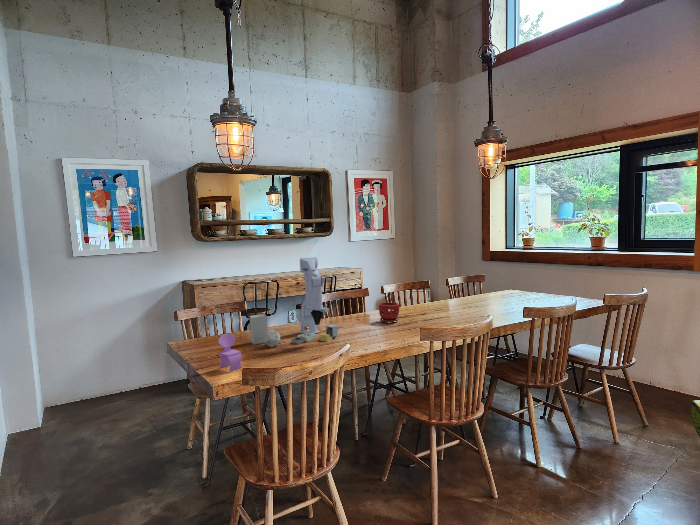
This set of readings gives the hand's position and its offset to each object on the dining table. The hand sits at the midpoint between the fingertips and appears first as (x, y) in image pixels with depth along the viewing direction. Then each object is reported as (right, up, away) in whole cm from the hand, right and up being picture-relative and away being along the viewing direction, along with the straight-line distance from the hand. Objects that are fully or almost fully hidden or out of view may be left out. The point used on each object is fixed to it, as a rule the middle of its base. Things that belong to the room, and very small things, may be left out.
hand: (317, 324), depth 221 cm
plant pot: (+42, -6, +47) cm, 64 cm away
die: (-24, -11, -2) cm, 26 cm away
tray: (-6, -9, +8) cm, 14 cm away
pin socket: (-11, -10, +3) cm, 15 cm away
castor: (+7, -9, +10) cm, 15 cm away
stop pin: (-7, -9, +8) cm, 14 cm away
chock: (+4, -10, +6) cm, 12 cm away
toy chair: (-35, -14, -37) cm, 53 cm away
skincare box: (-32, -11, +5) cm, 34 cm away
